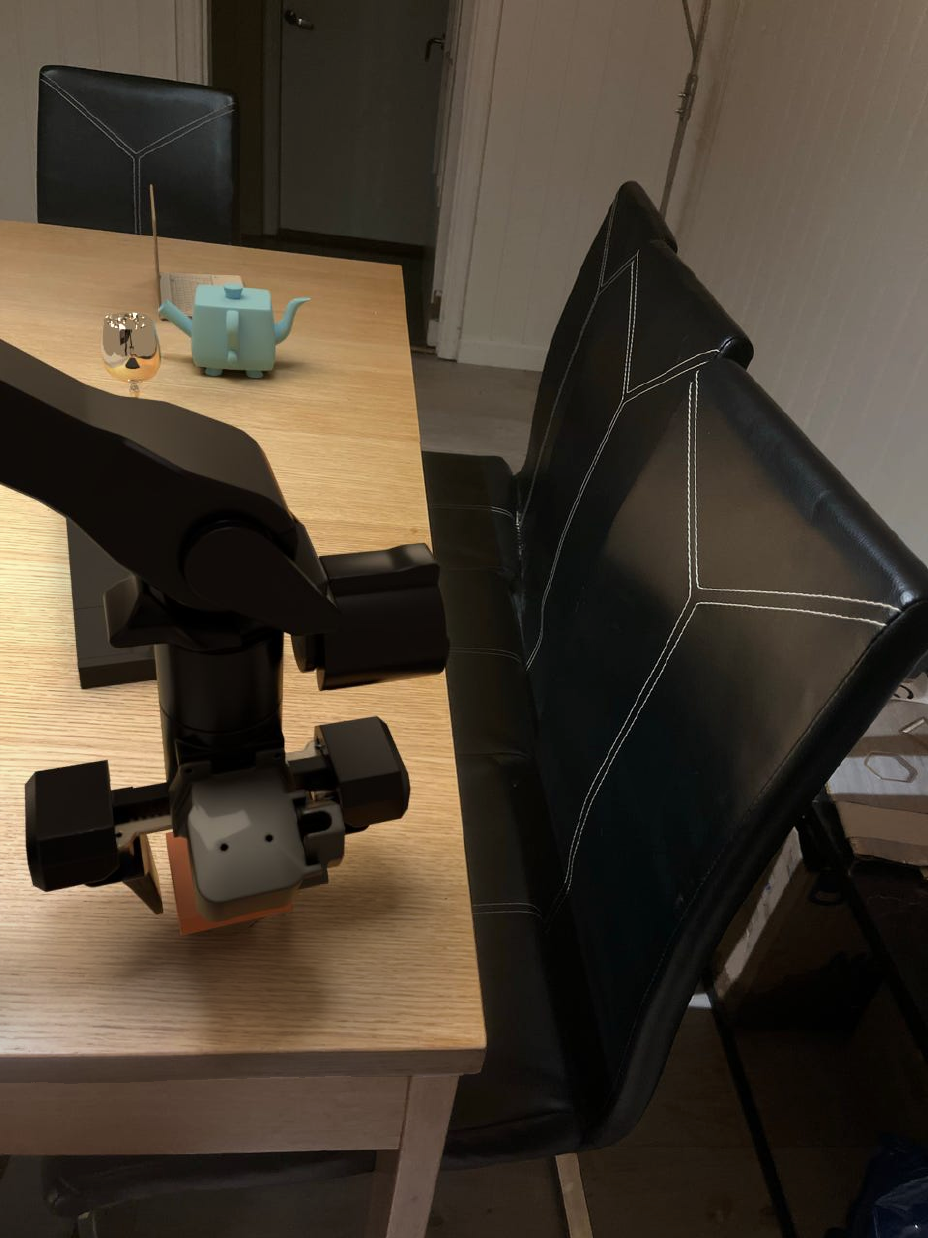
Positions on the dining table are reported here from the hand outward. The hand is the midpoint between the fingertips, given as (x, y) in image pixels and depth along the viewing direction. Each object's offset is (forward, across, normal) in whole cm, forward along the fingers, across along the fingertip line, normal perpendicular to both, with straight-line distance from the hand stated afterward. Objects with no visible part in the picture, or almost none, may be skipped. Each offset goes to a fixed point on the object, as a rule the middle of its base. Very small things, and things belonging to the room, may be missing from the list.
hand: (228, 892), depth 52 cm
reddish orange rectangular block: (+1, 0, 0) cm, 1 cm away
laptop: (+2, +14, +102) cm, 103 cm away
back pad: (+1, 0, +34) cm, 34 cm away
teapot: (+2, +14, +79) cm, 80 cm away
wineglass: (+2, +1, +62) cm, 62 cm away
